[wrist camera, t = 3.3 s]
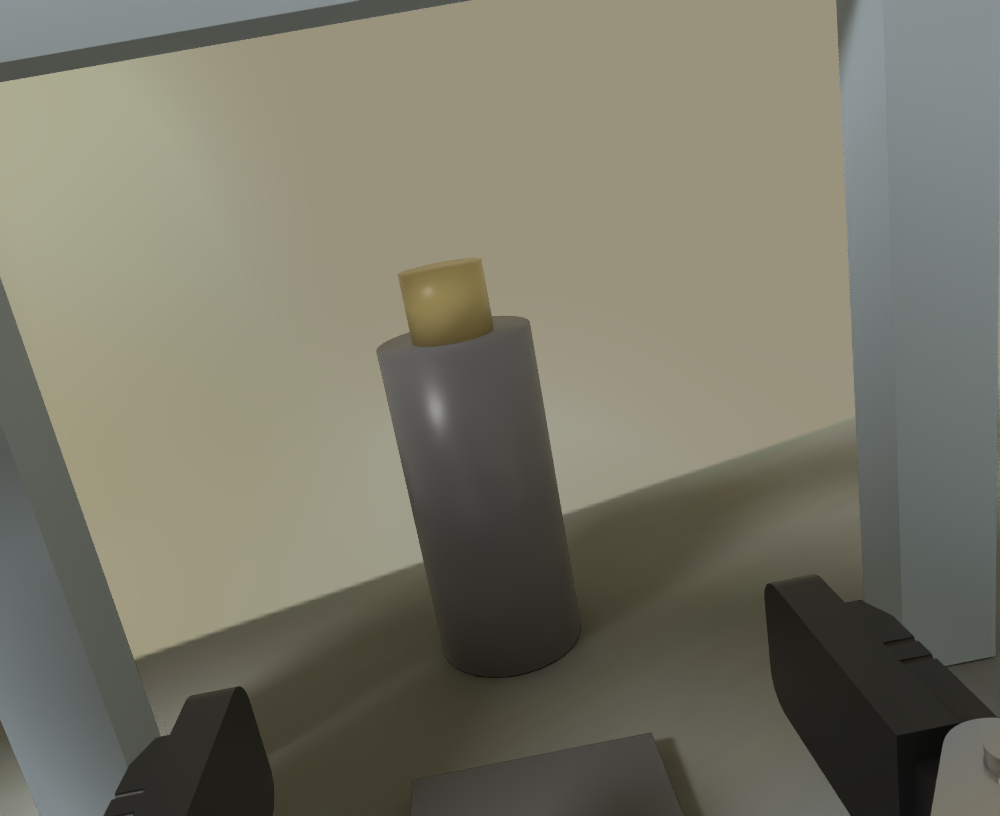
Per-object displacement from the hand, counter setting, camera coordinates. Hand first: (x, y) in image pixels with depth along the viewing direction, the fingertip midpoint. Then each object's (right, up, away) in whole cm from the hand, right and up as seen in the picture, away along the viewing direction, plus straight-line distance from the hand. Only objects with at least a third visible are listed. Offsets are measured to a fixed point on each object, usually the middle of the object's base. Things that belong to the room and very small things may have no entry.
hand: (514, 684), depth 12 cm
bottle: (0, -3, +14) cm, 15 cm away
